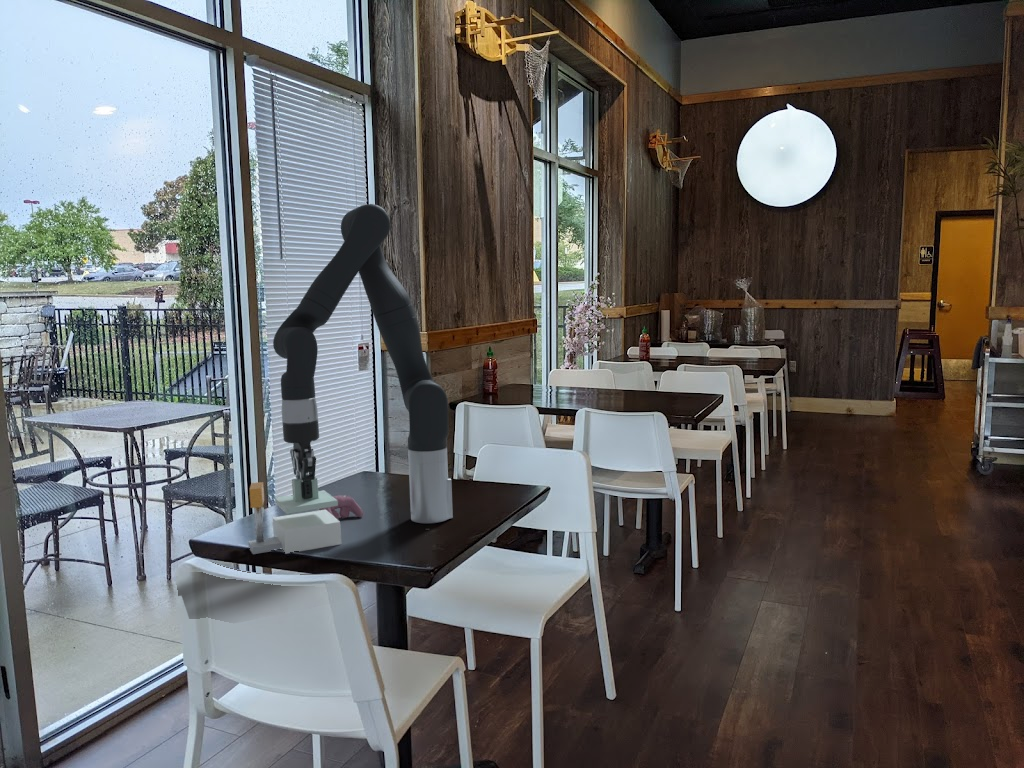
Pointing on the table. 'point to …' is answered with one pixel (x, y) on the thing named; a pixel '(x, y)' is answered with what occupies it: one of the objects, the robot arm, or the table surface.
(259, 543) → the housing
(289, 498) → the cover
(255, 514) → the t key
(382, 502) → the table surface
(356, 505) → the pink animal figurine
